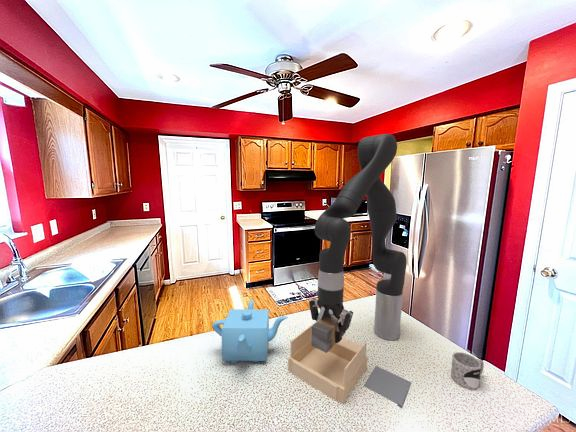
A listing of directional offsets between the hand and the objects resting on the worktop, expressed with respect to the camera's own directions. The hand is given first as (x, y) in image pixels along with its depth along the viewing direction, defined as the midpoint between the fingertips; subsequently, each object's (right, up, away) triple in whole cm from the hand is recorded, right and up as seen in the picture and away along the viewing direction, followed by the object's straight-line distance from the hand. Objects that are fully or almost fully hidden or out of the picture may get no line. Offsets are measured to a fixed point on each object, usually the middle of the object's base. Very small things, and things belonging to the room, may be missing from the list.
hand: (329, 337), depth 73 cm
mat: (+16, -12, -4) cm, 20 cm away
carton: (+1, -10, +2) cm, 11 cm away
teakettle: (-25, -10, +8) cm, 28 cm away
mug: (+41, -12, -2) cm, 43 cm away
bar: (0, 0, 0) cm, 0 cm away
